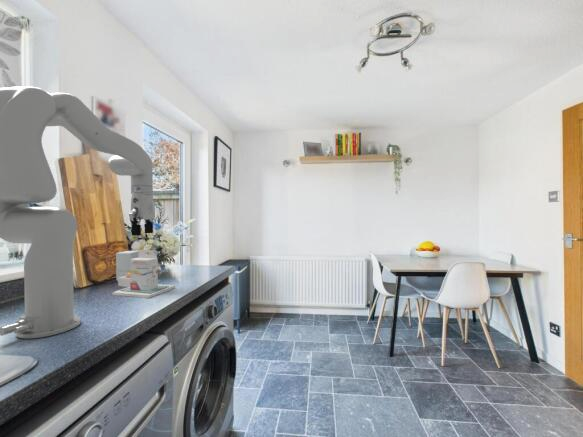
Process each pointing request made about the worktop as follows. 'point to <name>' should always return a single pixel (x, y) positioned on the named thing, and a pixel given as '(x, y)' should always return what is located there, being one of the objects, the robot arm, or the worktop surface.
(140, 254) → the ink cartridge box
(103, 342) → the worktop surface
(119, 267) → the supplement box
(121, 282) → the button housing
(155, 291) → the picture board
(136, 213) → the robot arm
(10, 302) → the worktop surface
